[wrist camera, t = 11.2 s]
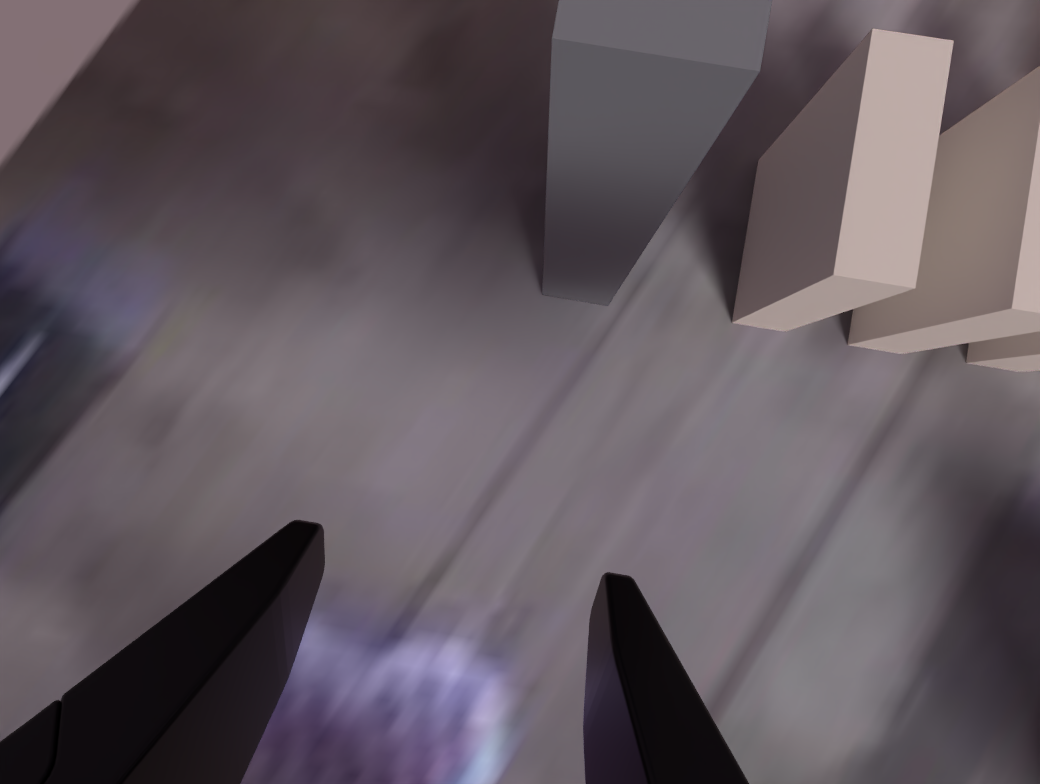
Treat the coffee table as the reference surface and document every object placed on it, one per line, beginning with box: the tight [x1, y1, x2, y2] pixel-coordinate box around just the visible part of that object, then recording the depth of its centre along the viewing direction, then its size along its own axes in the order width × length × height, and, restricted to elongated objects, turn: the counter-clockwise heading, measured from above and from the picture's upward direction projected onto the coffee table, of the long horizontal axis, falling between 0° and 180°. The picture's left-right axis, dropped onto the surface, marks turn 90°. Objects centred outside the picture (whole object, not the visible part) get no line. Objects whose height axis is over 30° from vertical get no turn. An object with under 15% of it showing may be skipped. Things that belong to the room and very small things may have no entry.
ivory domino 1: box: [732, 29, 954, 332], centre depth 16 cm, size 2×5×6 cm, turn 170°
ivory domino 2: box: [848, 66, 1040, 354], centre depth 16 cm, size 2×5×6 cm, turn 171°
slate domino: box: [542, 0, 772, 306], centre depth 13 cm, size 2×5×13 cm, turn 170°
